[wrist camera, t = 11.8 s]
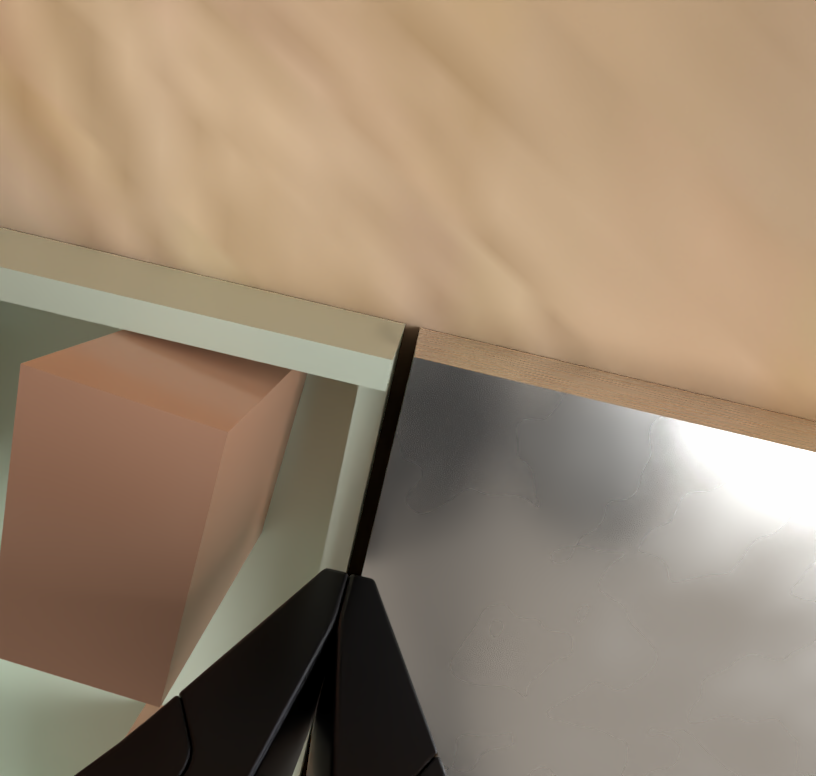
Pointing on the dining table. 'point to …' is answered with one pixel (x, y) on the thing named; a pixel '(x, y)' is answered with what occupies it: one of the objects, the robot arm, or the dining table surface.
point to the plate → (598, 570)
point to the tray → (297, 480)
